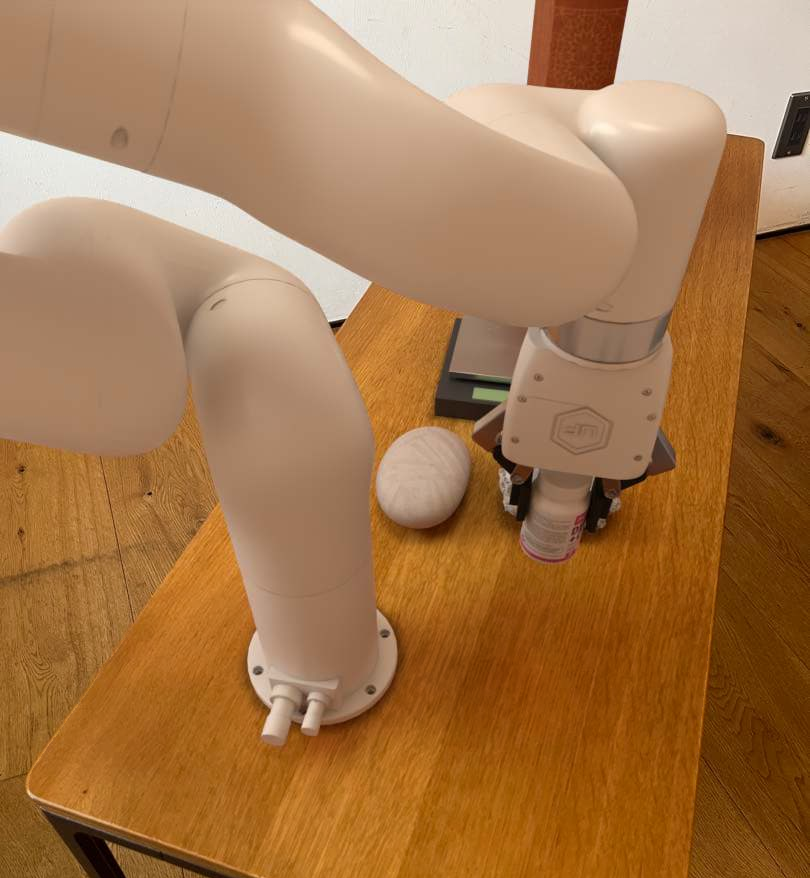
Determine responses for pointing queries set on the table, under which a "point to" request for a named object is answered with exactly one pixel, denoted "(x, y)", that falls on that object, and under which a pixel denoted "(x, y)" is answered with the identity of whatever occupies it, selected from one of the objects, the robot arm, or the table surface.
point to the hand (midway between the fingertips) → (556, 513)
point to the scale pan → (486, 350)
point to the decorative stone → (423, 477)
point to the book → (576, 43)
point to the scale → (466, 390)
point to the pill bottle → (555, 516)
